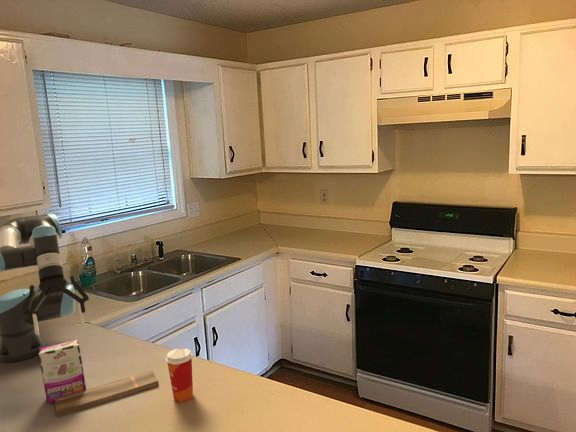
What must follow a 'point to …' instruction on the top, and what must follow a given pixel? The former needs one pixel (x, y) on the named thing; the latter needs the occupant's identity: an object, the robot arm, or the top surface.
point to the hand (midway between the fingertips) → (60, 328)
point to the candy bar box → (62, 370)
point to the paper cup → (180, 374)
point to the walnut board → (105, 393)
